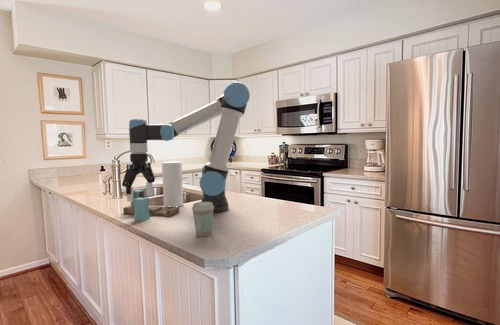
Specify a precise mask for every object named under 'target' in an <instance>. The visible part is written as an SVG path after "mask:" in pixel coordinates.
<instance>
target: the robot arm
mask: <svg viewBox="0 0 500 325" xmlns="http://www.w3.org/2000/svg"><path fill="white" fill-rule="evenodd" d="M250 96H251V95H250V91H249V88H248V87H247V85H246V84H244V83H242V82H240V81H232V82H230V83H228V84H227V85H226V86H225V88H224V90H223V94H222V95H221V96H218V97H217V98H216V100H215V101H212V102H211V103H209V104H207V105H204V106H202V107H200V108H198V109H196V110H194V111H192V112H190V113H188V114H186V115H183V116H181V117H180V118H177V119H174V120H173V121H171V122H169V123H148V122H147V120H146V119H142V118H141V119H137V118H136V119H130V120H129V122H128V123H129V125H128V131H129V132H128V133H129V134H128V136H129V153H130V155H129V161H130V162H131V164H126V170H125V174H124V176H123V180H122V184H121V185H122V187H124V188H125V191H126V193H125V194H126V201H127V202H128V203H129V202H130V203H131V202H133V190H134V187H133V186H132V185H133V184H134V182H135V180H136V177H137V176H138V175H139V174H142V176H143V177H144V179H145V181H146V183H145V186H146V187H145V188H146V189H145V190H146V196H147V197H152V196H153V183H154V182H155V180H156V178H155V176H154V172H153V169H152V166H151V165H152V164H151V162H148V161H149V160H148V156H149V154H148V150H149V149H148V141H165V142H169V141H173V139H174V138H176V137H178V136H180V135H181V134H182V135H183V134H184V133H186V132H188V131H191V130H192V129H195V128H196V127H199V126H200V125H203V124H205V123H207V122H209V121H212V120H214V119H215V118H218V117H220V116H221V117H220V118H219V119H220V120H219V124H218V127H217V131H216V135H215V138H214V141H213V146H212V149H211V153H210V157H209V161H208V162H206V163H204V166H202V169H201V177H200V178H199V187H200V189H201V191H202V198H201V201H200V202H212V203H213V206H214V209H213V214H214V213H215V214H216V213H221V212H227V211H228V210H229V208H230V206H229V202H228V199H227V197H226V196H227V195H226V182H227V177H228V174H229V168H228V166H227V165H228V162H229V159H230V156H231V151H232V148H233V143H234V140H235V137H236V133H237V129H238V126H239V121H240V119H241V117H243V116H244V115H245V112H246V109H247V105H248V102H249V100H250Z"/></svg>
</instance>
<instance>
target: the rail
mask: <svg viewBox="0 0 500 325" xmlns="http://www.w3.org/2000/svg"><path fill="white" fill-rule="evenodd" d="M136 198H145V192H144V189H133V202H130V205H128V206H125V207H123V208H122V209H123V210H122V211H123V212H122V213H123V214H124V215H134V199H136ZM177 213H178V214H179V213H180V207H173V208H169V209H168V208H167V209H166V208H164V205H149V216H155V215H163V216H162V217H171V216H172V217H174V216H175V214H176V215H178V214H177ZM173 215H174V216H173Z"/></svg>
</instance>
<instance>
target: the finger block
mask: <svg viewBox="0 0 500 325" xmlns="http://www.w3.org/2000/svg"><path fill="white" fill-rule="evenodd" d="M149 200H150V199H149V197H144V198H136V199H134V214H133V215H134V221H139V222H145V221H147V219H148V220H150V215H149V206H150V205H149V204H150V203H149Z"/></svg>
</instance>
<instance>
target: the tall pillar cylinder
mask: <svg viewBox="0 0 500 325" xmlns="http://www.w3.org/2000/svg"><path fill="white" fill-rule="evenodd" d="M182 163H183V162H182V161H174V160H173V161H162V162H161V169H162V170H161V171H162V187H163V188H162V192H163V193H162V194H163V196H162V197H163V208H166V207H169V206H170V207H176V206H180V207H182V206H181V205H183V206H184V191H183V188H184V186H183V164H182Z"/></svg>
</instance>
